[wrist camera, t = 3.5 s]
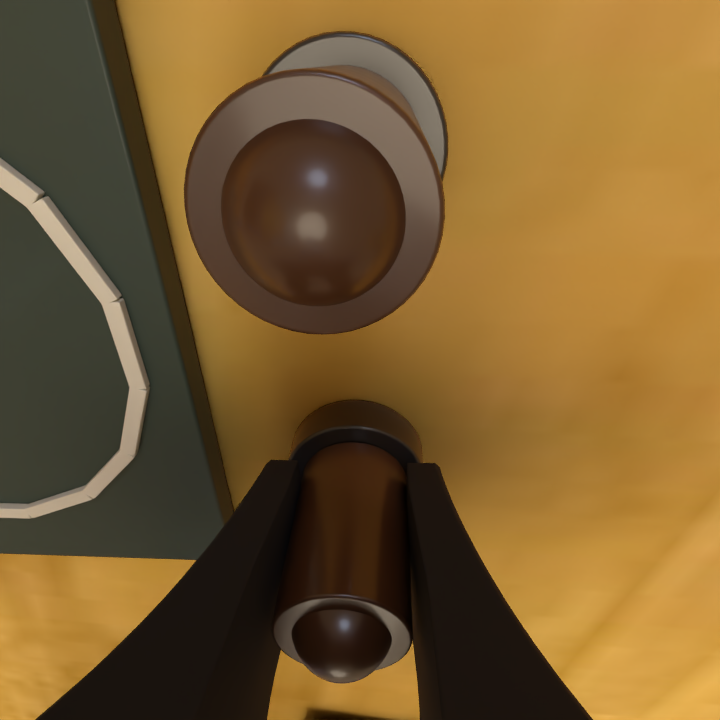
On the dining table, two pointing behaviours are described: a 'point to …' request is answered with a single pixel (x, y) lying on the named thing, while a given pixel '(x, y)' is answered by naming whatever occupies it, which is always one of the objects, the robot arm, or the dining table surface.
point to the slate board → (92, 309)
